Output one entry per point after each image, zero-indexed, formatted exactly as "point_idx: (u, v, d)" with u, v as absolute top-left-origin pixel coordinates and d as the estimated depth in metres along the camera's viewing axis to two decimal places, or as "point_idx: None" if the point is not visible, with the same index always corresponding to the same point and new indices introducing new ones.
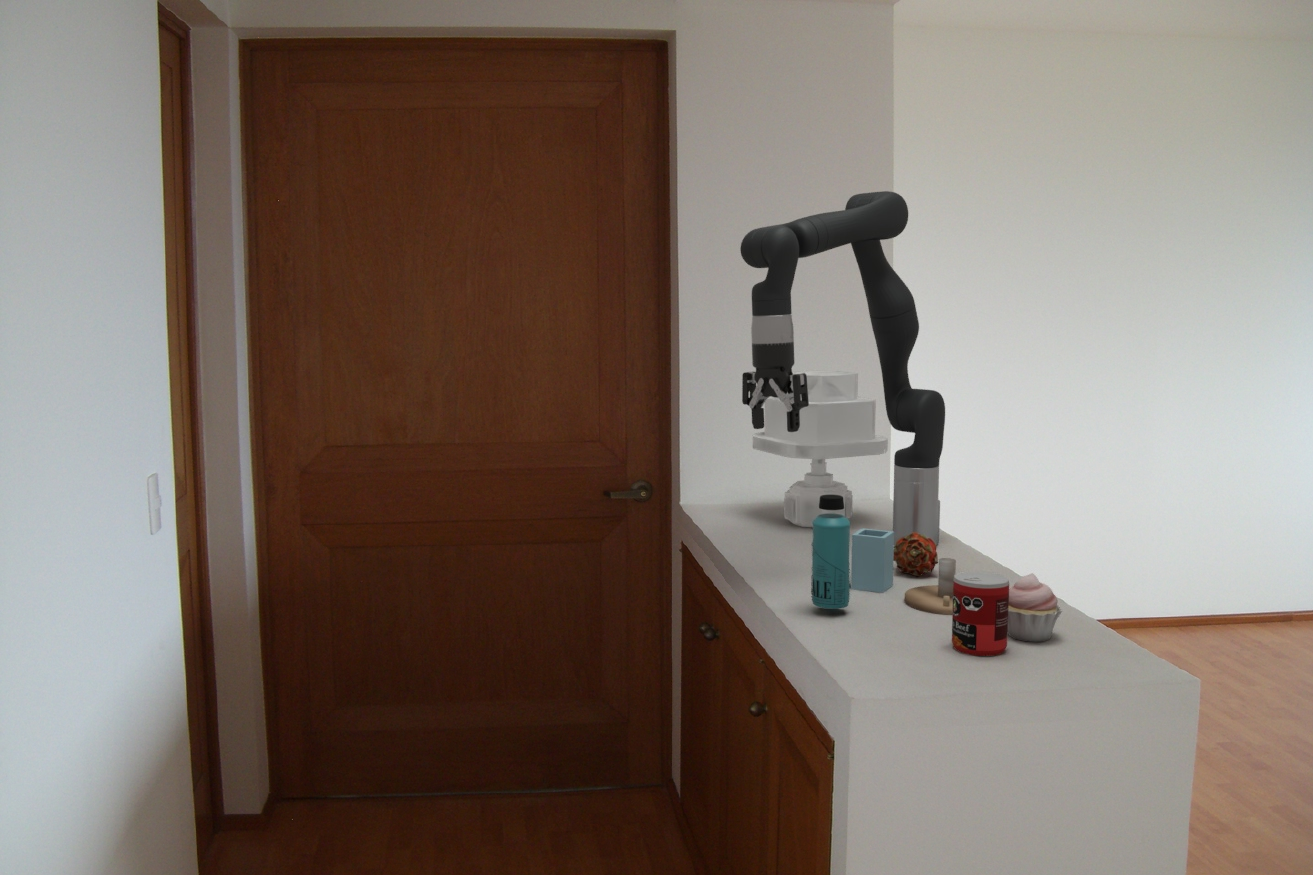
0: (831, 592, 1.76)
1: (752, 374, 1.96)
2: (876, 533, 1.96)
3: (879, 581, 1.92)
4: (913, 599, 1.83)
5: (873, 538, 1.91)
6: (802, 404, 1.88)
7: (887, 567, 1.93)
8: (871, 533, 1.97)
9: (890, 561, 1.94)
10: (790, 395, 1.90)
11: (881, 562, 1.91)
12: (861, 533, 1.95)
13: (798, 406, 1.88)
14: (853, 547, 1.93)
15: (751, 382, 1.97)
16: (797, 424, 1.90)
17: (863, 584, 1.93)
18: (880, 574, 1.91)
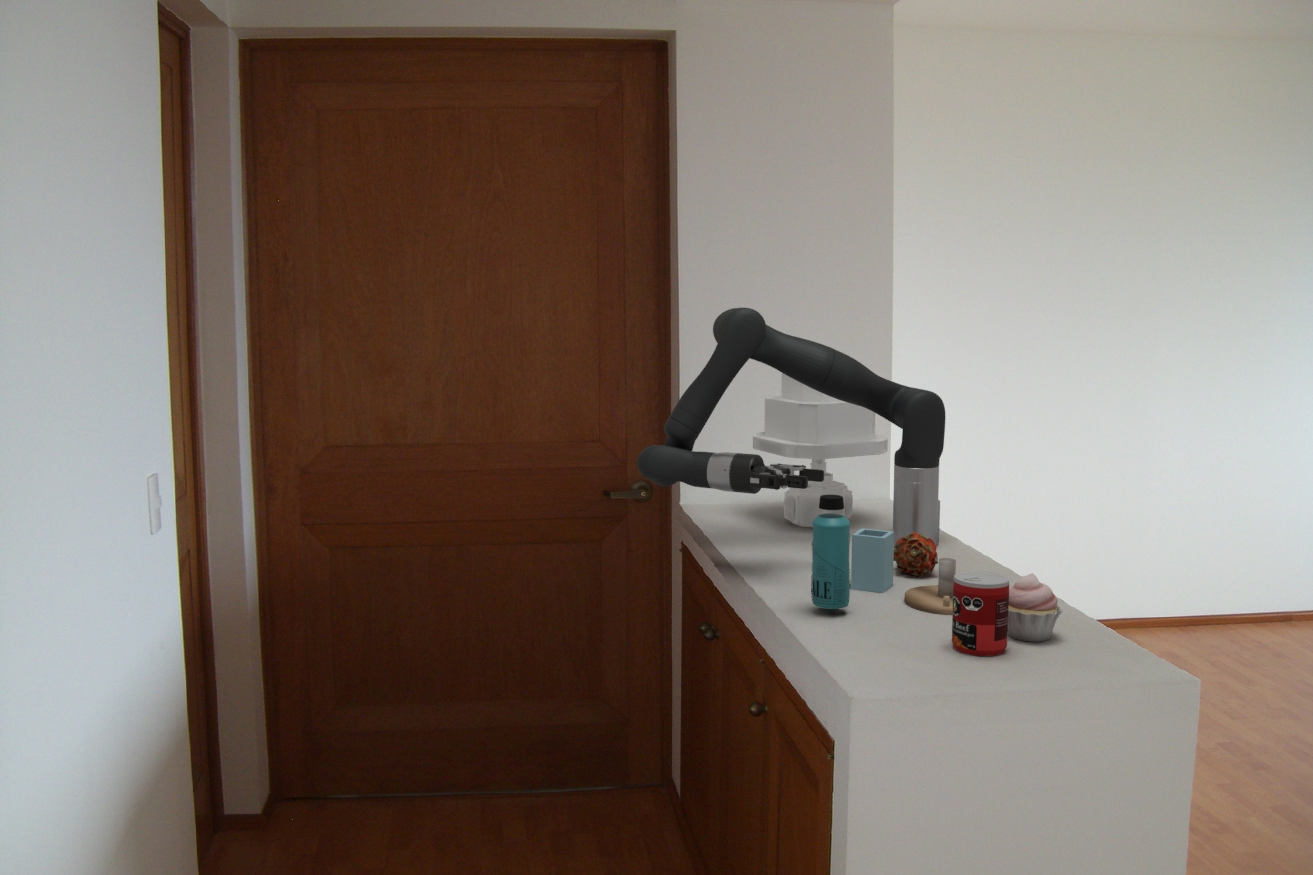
0: (831, 592, 1.76)
1: None
2: (876, 533, 1.96)
3: (879, 581, 1.92)
4: (913, 599, 1.83)
5: (873, 538, 1.91)
6: (775, 484, 1.94)
7: (887, 567, 1.93)
8: (871, 533, 1.97)
9: (890, 561, 1.94)
10: None
11: (881, 562, 1.91)
12: (861, 533, 1.95)
13: (777, 489, 1.95)
14: (853, 547, 1.93)
15: None
16: (798, 481, 1.94)
17: (863, 584, 1.93)
18: (880, 574, 1.91)
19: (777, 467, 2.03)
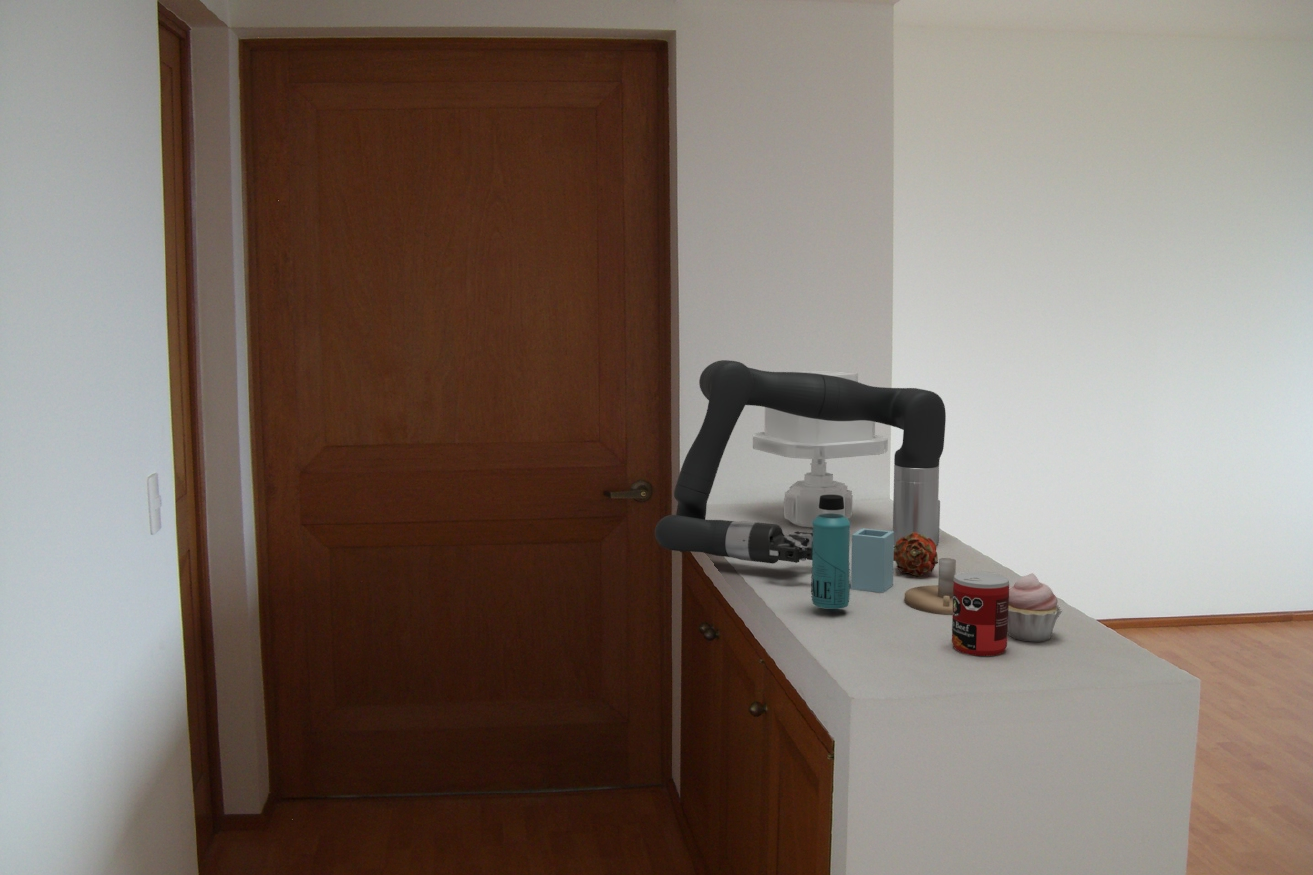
0: (831, 592, 1.76)
1: None
2: (876, 533, 1.96)
3: (879, 581, 1.92)
4: (913, 599, 1.83)
5: (873, 538, 1.91)
6: (795, 557, 1.95)
7: (887, 567, 1.93)
8: (871, 533, 1.97)
9: (890, 561, 1.94)
10: None
11: (881, 562, 1.91)
12: (861, 533, 1.95)
13: (796, 561, 1.95)
14: (853, 547, 1.93)
15: None
16: None
17: (863, 584, 1.93)
18: (880, 574, 1.91)
19: (796, 537, 2.03)
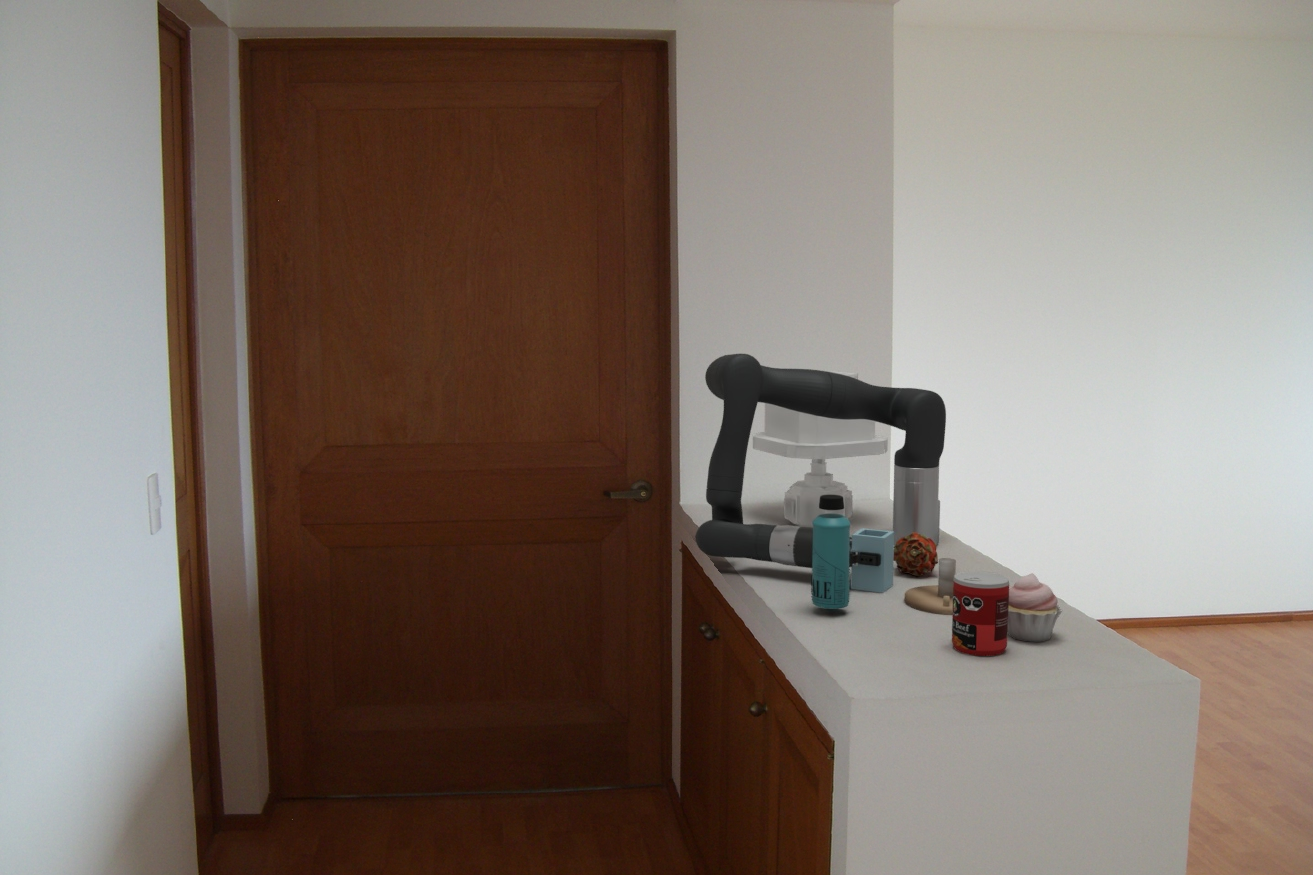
0: (831, 592, 1.76)
1: None
2: (876, 533, 1.96)
3: (879, 581, 1.92)
4: (913, 599, 1.83)
5: (873, 538, 1.91)
6: None
7: (887, 567, 1.93)
8: (871, 533, 1.97)
9: (890, 561, 1.94)
10: None
11: (881, 562, 1.91)
12: (861, 533, 1.95)
13: (850, 566, 1.91)
14: (853, 547, 1.93)
15: None
16: (871, 559, 1.90)
17: (863, 584, 1.93)
18: (880, 574, 1.91)
19: None
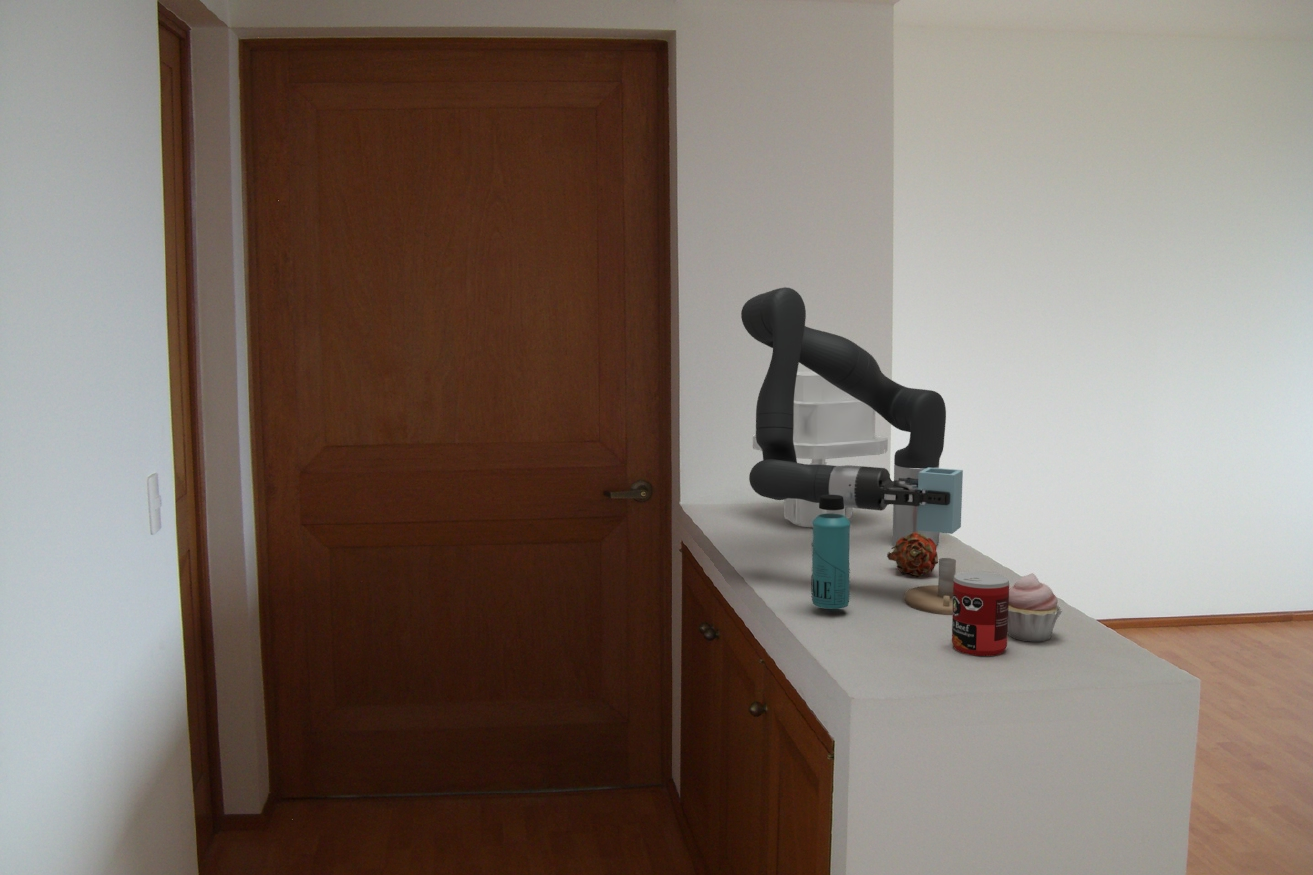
0: (831, 592, 1.76)
1: None
2: (943, 472, 1.85)
3: (947, 521, 1.80)
4: (913, 599, 1.83)
5: (942, 476, 1.80)
6: (915, 501, 1.79)
7: (956, 507, 1.82)
8: (938, 472, 1.85)
9: (959, 501, 1.83)
10: (910, 495, 1.82)
11: (950, 501, 1.80)
12: (928, 471, 1.84)
13: (917, 505, 1.80)
14: (920, 486, 1.82)
15: None
16: (940, 497, 1.79)
17: (930, 525, 1.82)
18: (949, 514, 1.80)
19: (906, 482, 1.87)
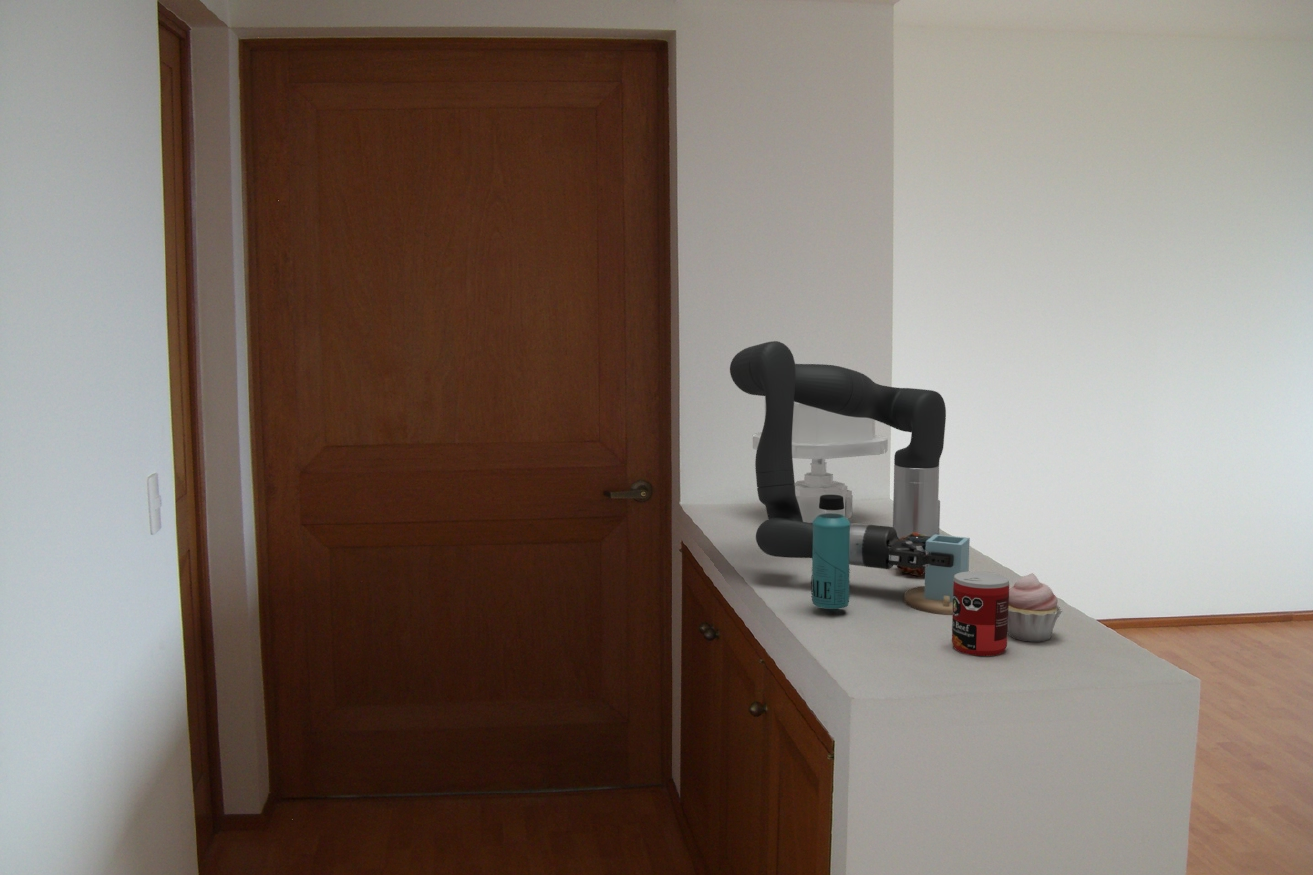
0: (831, 592, 1.76)
1: None
2: (950, 539, 1.85)
3: None
4: (913, 599, 1.83)
5: (949, 545, 1.80)
6: (918, 563, 1.79)
7: None
8: (945, 539, 1.86)
9: (966, 569, 1.84)
10: (915, 556, 1.83)
11: (958, 570, 1.80)
12: (935, 539, 1.85)
13: (920, 567, 1.79)
14: None
15: None
16: (944, 559, 1.79)
17: (938, 593, 1.82)
18: None
19: (913, 541, 1.88)
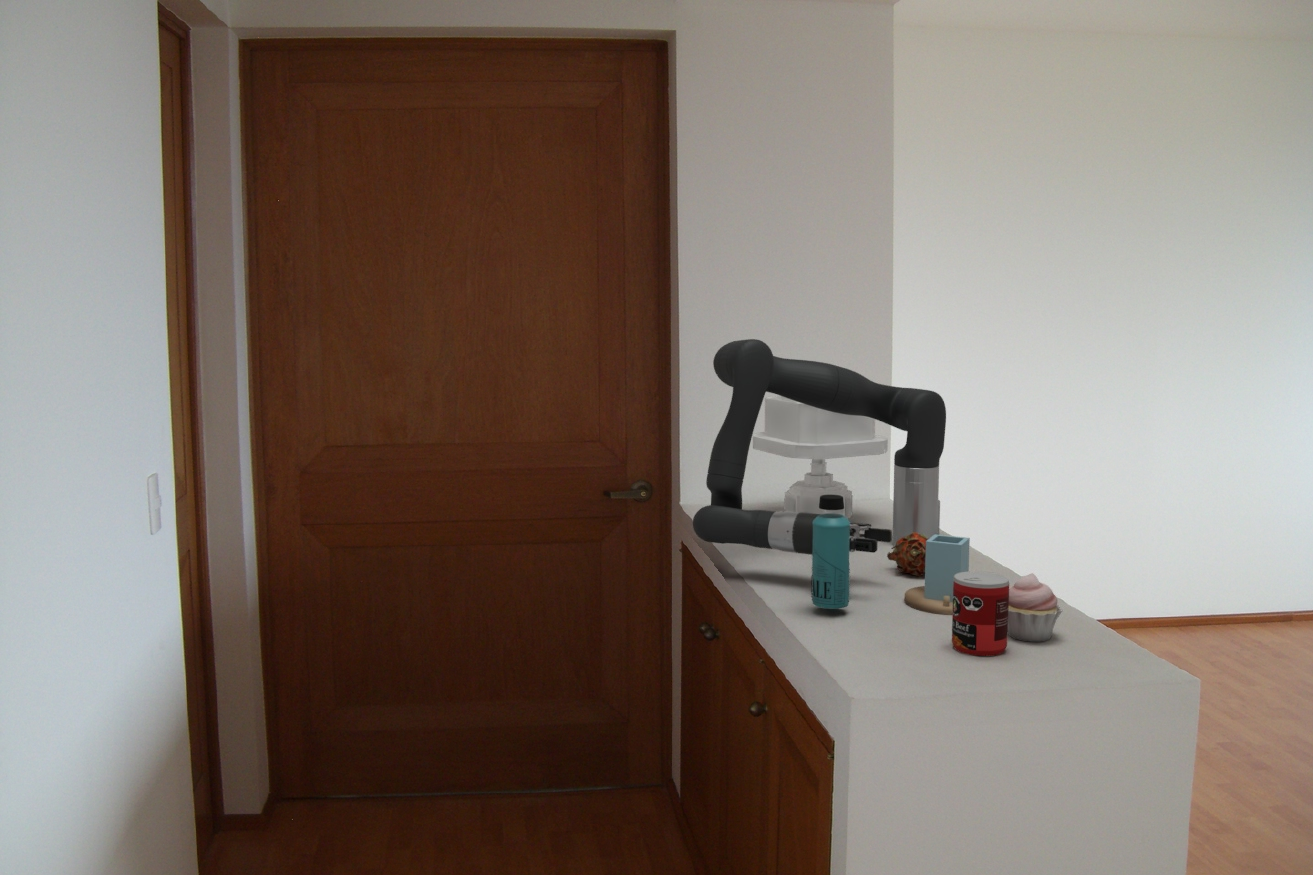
0: (831, 592, 1.76)
1: None
2: (950, 539, 1.85)
3: None
4: (913, 599, 1.83)
5: (949, 545, 1.80)
6: None
7: None
8: (945, 539, 1.86)
9: (966, 569, 1.84)
10: None
11: (958, 570, 1.80)
12: (935, 539, 1.85)
13: None
14: (927, 554, 1.82)
15: None
16: (867, 545, 1.86)
17: (938, 593, 1.82)
18: None
19: None
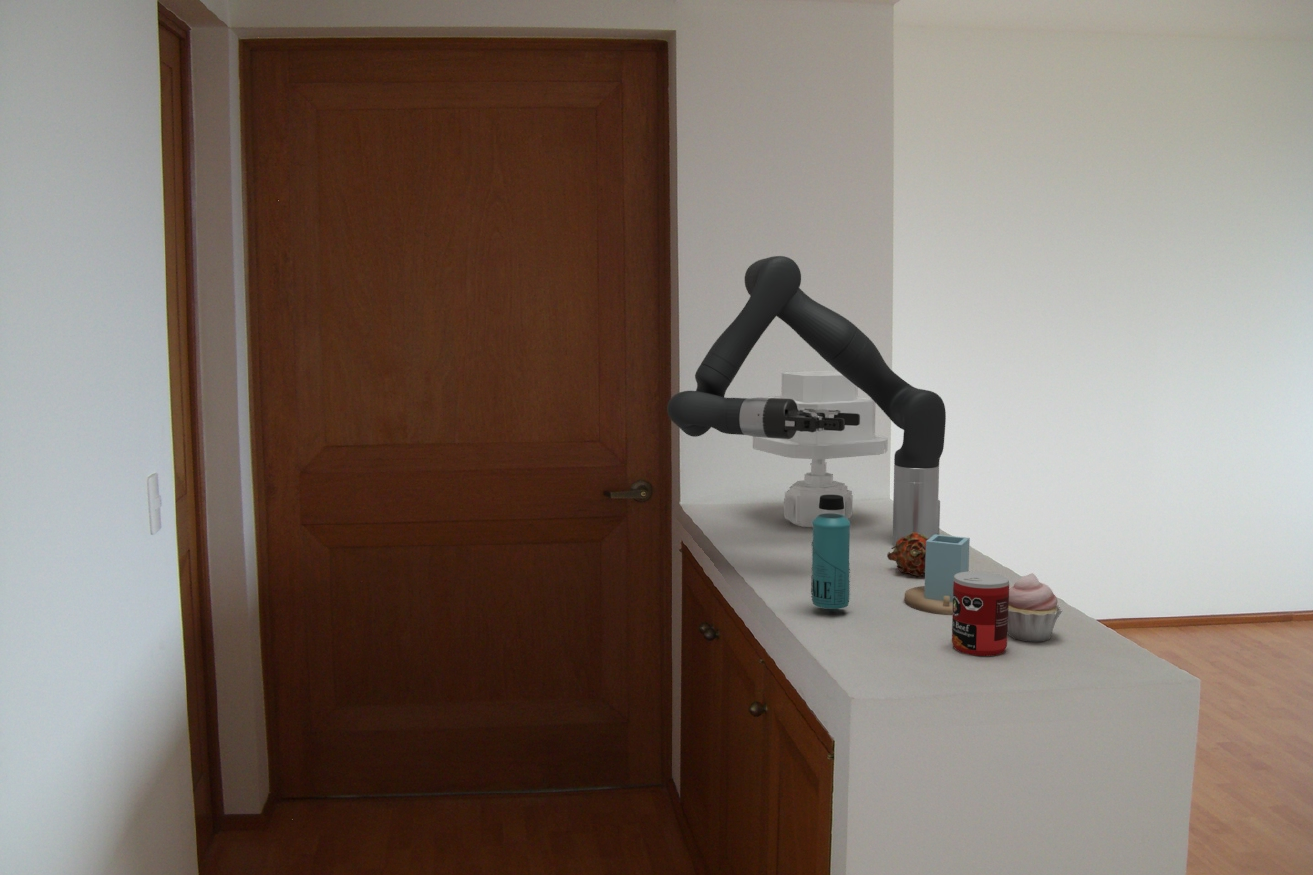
0: (831, 592, 1.76)
1: None
2: (950, 539, 1.85)
3: None
4: (913, 599, 1.83)
5: (949, 545, 1.80)
6: (811, 427, 1.90)
7: None
8: (945, 539, 1.86)
9: (966, 569, 1.84)
10: None
11: (958, 570, 1.80)
12: (935, 539, 1.85)
13: (813, 431, 1.90)
14: (927, 554, 1.82)
15: None
16: (835, 423, 1.90)
17: (938, 593, 1.82)
18: None
19: (812, 411, 1.98)
